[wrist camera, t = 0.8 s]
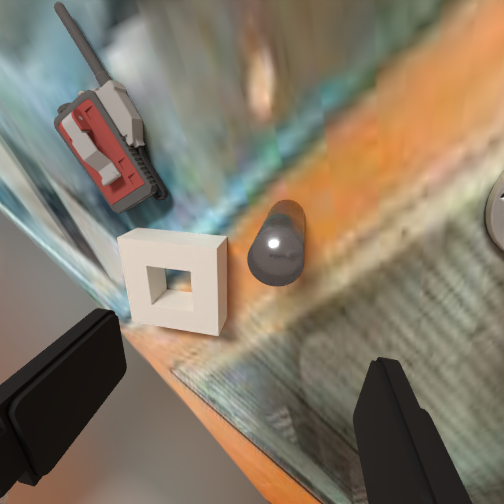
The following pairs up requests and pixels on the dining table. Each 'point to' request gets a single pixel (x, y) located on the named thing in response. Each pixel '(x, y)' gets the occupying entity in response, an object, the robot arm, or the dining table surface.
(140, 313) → the socket block
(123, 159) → the walkie-talkie
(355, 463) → the dining table surface
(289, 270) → the peg
